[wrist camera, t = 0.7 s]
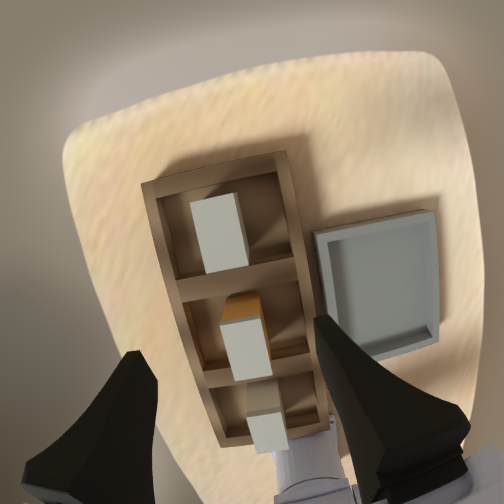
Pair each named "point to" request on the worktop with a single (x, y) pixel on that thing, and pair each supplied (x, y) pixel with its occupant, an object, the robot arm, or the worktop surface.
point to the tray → (382, 281)
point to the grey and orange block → (246, 337)
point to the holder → (242, 290)
